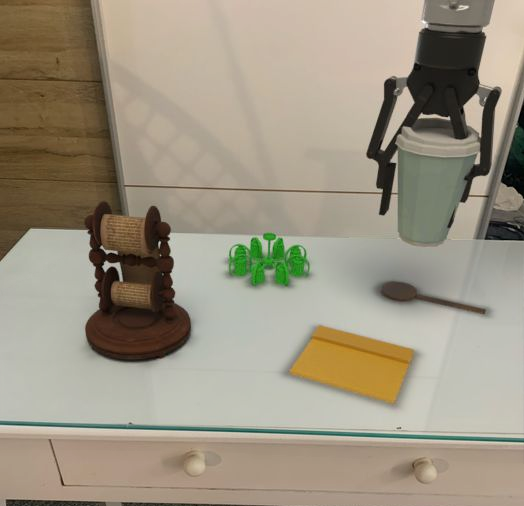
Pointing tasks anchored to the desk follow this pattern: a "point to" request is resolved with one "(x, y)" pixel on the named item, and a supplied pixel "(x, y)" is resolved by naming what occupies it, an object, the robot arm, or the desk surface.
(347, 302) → the desk surface
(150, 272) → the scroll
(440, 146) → the disposable coffee cup
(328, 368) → the envelope
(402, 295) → the spoon
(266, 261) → the chandelier
